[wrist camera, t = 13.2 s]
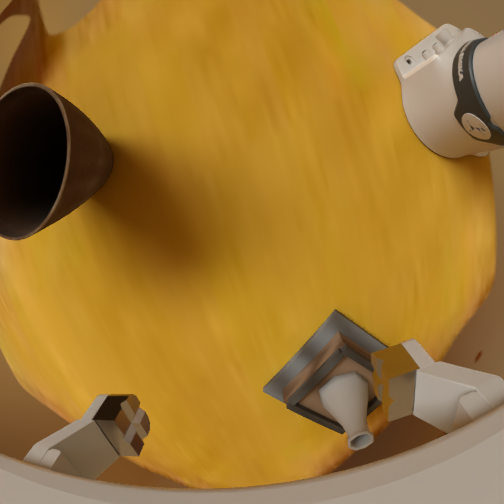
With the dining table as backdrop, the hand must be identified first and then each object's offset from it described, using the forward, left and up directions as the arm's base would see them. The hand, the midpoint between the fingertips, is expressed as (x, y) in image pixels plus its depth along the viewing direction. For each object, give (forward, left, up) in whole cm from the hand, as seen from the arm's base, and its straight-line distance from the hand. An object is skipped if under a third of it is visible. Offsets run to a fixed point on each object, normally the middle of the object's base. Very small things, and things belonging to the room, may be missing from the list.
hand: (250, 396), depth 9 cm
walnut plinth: (+10, +22, -29) cm, 38 cm away
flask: (+10, +22, -25) cm, 35 cm away
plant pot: (+5, -24, -29) cm, 38 cm away
